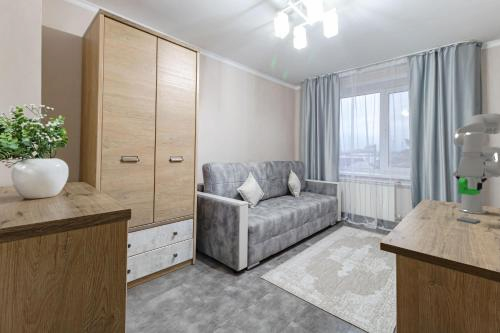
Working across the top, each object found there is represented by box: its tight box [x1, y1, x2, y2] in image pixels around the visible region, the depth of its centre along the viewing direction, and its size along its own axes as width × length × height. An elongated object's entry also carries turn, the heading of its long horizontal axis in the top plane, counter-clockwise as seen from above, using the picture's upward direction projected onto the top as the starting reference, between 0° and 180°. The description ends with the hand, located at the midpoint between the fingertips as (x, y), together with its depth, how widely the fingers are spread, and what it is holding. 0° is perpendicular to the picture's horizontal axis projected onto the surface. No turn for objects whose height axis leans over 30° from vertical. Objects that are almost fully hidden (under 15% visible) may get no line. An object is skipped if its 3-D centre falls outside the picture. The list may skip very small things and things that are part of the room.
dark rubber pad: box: [456, 216, 481, 225], centre depth 123 cm, size 8×7×1 cm
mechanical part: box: [457, 178, 480, 195], centre depth 122 cm, size 12×6×8 cm, turn 119°
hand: (470, 188), depth 122 cm, fingers closed on mechanical part, 6 cm apart
